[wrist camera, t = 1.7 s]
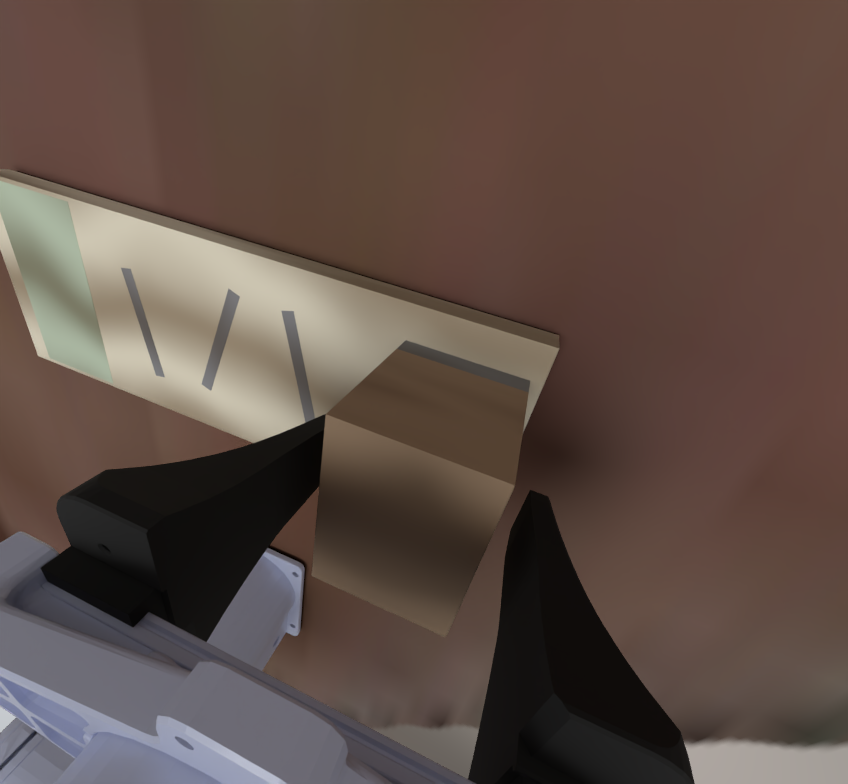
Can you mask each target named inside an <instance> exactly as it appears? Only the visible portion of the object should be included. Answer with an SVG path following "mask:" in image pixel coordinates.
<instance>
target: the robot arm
mask: <svg viewBox="0 0 848 784" xmlns="http://www.w3.org/2000/svg"><path fill="white" fill-rule="evenodd" d="M325 417H326V414H324V415H322V416H319V417H317V418H315V419H313V420H310V421H308V422H306V423H303V424H301V425H299V426H297V427H294V428H292V429H289V430H287V431H285V432H282V433H280V434H277V435H275V436H272V437H269V438H266V439H264V440H261V441H258V442H256V443H253V444H250V445H247V446H244V447H241V448H237V449H234V450H230V451H227V452H223V453H219V454H215V455H210V456H206V457H201V458H196V459H192V460H187V461H181V462H175V463H169V464H161V465H154V466H146V467H135V468H123V469H111V470H105V471H103V472H101V473H100V474H98V475H96V476H95V477H93V478H91V479H90V480H88V481H86V482H85V483H83V484H81V485H80V486H78V487H76V488H75V489H73V490H71V491H70V492H68V493H66V494H65V495H63V496H61V497H60V499H59V500H58V502H57V513H58V517H59V519H60V522H61V524H62V526H63V528H64V531H65V533H66V535H67V538H68V540H69V542H70V544H71V546H70V547H69V548H68V549H66V550H65V551H63V552H62V553H61V554H59V553H58V552H57V551H56V550H55V549H54V548H53V547H51V546H50V545H48V544H46V543H44V542H42V541H40V540H38V539H36V538H34V537H32V536H30V535H29V534H27V533H25V532H17V533H16V534H14V535H12V536H11V537H9V538H8V539H6V540H4V541H3V542H1V543H0V706H1V707H2V708H4V709H5V710H6V711H8V712H9V713H11V714H12V715H14V716H15V717H16V718H15V719H14V720H13V721H12V722H11V723H10V724H9V725H8V726H7V727H6V728H5V729H4V730H3V731H2V732H1V733H0V784H694V779H693V776H692V770H691V766H690V762H689V758H688V754H687V751H686V748H685V745H684V741H683V738H682V735H681V732H680V730H679V729H678V728H677V727H676V725H675V724H674V723H673V722H672V720H671V719H670V718H669V717H668V715H667V714H666V713H665V711H664V710H663V709H662V708H661V706H660V705H659V704H658V703H657V701H656V700H655V699H654V698H653V696H652V695H651V694H650V693H649V691H648V690H647V689H646V687H645V686H644V685H643V683H642V682H641V680H640V679H639V678H638V676H637V675H636V673H635V672H634V671H633V669H632V668H631V667H630V665H629V664H628V662H627V661H626V659H625V658H624V656H623V655H622V653H621V652H620V650H619V649H618V647H617V646H616V644H615V643H614V641H613V639H612V638H611V636H610V635H609V633H608V632H607V630H606V628H605V627H604V625H603V624H602V622H601V620H600V618H599V617H598V615H597V613H596V612H595V610H594V608H593V606H592V604H591V602H590V600H589V598H588V597H587V595H586V593H585V591H584V589H583V586H582V584H581V582H580V580H579V578H578V576H577V574H576V571H575V569H574V567H573V565H572V562H571V560H570V557H569V555H568V552H567V550H566V547H565V545H564V542H563V539H562V537H561V534H560V531H559V528H558V525H557V522H556V519H555V516H554V513H553V510H552V506H551V503H550V500H549V498H548V496H545V495H542V494H540V493H537V492H534V491H532V490H530V491H529V493H528V496H527V498H526V500H525V502H524V504H523V506H522V508H521V510H520V512H519V514H518V516H517V518H516V520H515V522H514V524H513V526H512V528H511V531H510V536H509V541H508V545H507V550H506V555H505V564H504V575H503V586H502V598H501V610H500V621H499V629H498V636H497V642H496V647H495V653H494V658H493V663H492V669H491V674H490V679H489V684H488V689H487V694H486V699H485V704H484V709H483V714H482V718H481V723H480V728H479V733H478V737H477V742H476V746H475V751H474V755H473V760H472V764H471V769H470V773H469V778H468V779H466V778H464V777H462V776H460V775H459V774H457V773H455V772H453V771H451V770H449V769H447V768H445V767H443V766H441V765H440V764H438V763H435V762H434V761H432V760H430V759H428V758H426V757H424V756H422V755H420V754H419V753H416V752H415V751H413V750H411V749H409V748H407V747H405V746H403V745H401V744H400V743H398V742H395V741H394V740H392V739H390V738H388V737H386V736H384V735H382V734H380V733H379V732H377V731H375V730H373V729H371V728H369V727H367V726H365V725H363V724H361V723H360V722H358V721H356V720H354V719H352V718H350V717H348V716H346V715H344V714H342V713H340V712H339V711H337V710H335V709H333V708H331V707H329V706H327V705H325V704H323V703H321V702H319V701H318V700H316V699H314V698H312V697H310V696H308V695H306V694H304V693H302V692H300V691H299V690H297V689H295V688H293V687H291V686H289V685H287V684H285V683H283V682H281V681H279V680H278V679H276V678H274V677H272V676H270V675H268V674H266V673H264V672H262V670H263V668H264V667H265V665H266V664H267V662H268V660H269V659H270V657H271V656H272V654H273V652H274V651H275V649H276V648H277V646H278V644H279V643H280V641H281V640H282V638H283V637H284V635H285V633H286V632H287V633H289V634H291V635H293V636H297V635H298V634H299V632H300V627H301V613H302V599H303V585H304V571H305V569H304V566H303V564H301V563H300V562H298V561H296V560H294V559H291V558H289V557H287V556H285V555H283V554H280V553H278V552H276V551H274V550H272V549H269V548H268V547H269V545H270V544H271V542H272V541H273V540H274V538H275V537H276V535H277V534H278V533H279V532H280V530H281V529H282V528H283V527H284V525H285V524H286V523H287V522H288V521H289V520H290V519H291V517H292V516H293V515H294V514H295V513H296V512H297V511H298V509H299V508H300V507H301V506H302V505H303V504H304V503H305V501H306V500H307V499H308V498H309V497H310V496H311V495H312V493H313V492H314V491H315V490H316V489H317V488H318V486H319V485H320V474H321V462H322V451H323V439H324V428H325Z"/></svg>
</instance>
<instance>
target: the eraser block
mask: <svg viewBox="0 0 848 784" xmlns="http://www.w3.org/2000/svg"><path fill="white" fill-rule="evenodd" d="M529 387H530V380H526V379H523V378H520V377H517V376H514V375H511V374H508V373H505V372H502V371H499V370H496V369H493V368H490V367H487V366H484V365H481V364H477V363H474V362H471V361H468V360H465V359H462V358H459V357H456V356H453V355H450V354H447V353H444V352H441V351H438V350H435V349H431V348H428V347H425V346H422V345H419V344H416V343H413V342H410V341H407V340H405V341H404V342H403V343H402V344H401V345H400V346H399V347H398V348H397V349H396V350H395V351H394V352H393V353H391V354H390V355H389V356H388V357H387V358H386V359H385V360H384V361H383V362H382V363H381V364H380V365H378V366H377V367H376V368H375V369H374V370H373V371H372V372H371V373H370V374H369V375H368V376H367V377H365V378H364V379H363V380H362V381H361V382H360V383H359V384H358V385H357V386H356V387H355V388H354V389H353V390H351V391H350V392H349V393H348V394H347V395H346V396H345V397H344V398H343V399H342V400H341V401H340V402H338V403H337V404H336V405H335V406H334V407H333V408H332V409H331V410H330V411H329V412H328V413H327V414H326V417H325V428H324V439H323V451H322V462H321V474H320V485H319V496H318V508H317V519H316V530H315V542H314V553H313V565H312V576H313V577H315V578H317V579H319V580H321V581H324V582H326V583H328V584H330V585H332V586H335V587H337V588H339V589H341V590H343V591H345V592H348V593H350V594H352V595H354V596H356V597H358V598H361V599H363V600H365V601H367V602H369V603H371V604H374V605H376V606H378V607H380V608H382V609H385V610H387V611H389V612H391V613H393V614H395V615H398V616H400V617H402V618H404V619H406V620H408V621H411V622H413V623H415V624H417V625H419V626H421V627H424V628H426V629H428V630H430V631H432V632H435V633H437V634H439V635H441V636H443V637H445V638H446V636H447V634H448V631H449V629H450V627H451V625H452V623H453V620H454V618H455V616H456V614H457V612H458V609H459V607H460V605H461V603H462V601H463V598H464V596H465V594H466V592H467V590H468V588H469V585H470V583H471V581H472V579H473V577H474V574H475V572H476V570H477V568H478V566H479V563H480V561H481V559H482V557H483V555H484V553H485V550H486V548H487V546H488V544H489V542H490V539H491V537H492V535H493V533H494V531H495V528H496V526H497V524H498V522H499V520H500V518H501V515H502V513H503V511H504V509H505V507H506V504H507V502H508V500H509V498H510V496H511V493H512V491H513V489H514V487H515V483H516V476H517V469H518V462H519V455H520V449H521V442H522V435H523V428H524V421H525V414H526V408H527V401H528V394H529Z"/></svg>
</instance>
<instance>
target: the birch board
mask: <svg viewBox="0 0 848 784" xmlns="http://www.w3.org/2000/svg"><path fill="white" fill-rule="evenodd" d="M0 250H1V252H2V255H3V258H4V261H5V264H6V266H7V269H8V272H9V275H10V278H11V281H12V283H13V286H14V289H15V292H16V295H17V297H18V300H19V303H20V306H21V309H22V311H23V314H24V317H25V320H26V323H27V326H28V328H29V331H30V334H31V337H32V340H33V342H34V345H35V348H36V351H37V354H38V356H40V357H42V358H45V359H47V360H50V361H52V362H55V363H57V364H60V365H62V366H65V367H67V368H70V369H72V370H75V371H77V372H79V373H82V374H84V375H87V376H89V377H92V378H94V379H97V380H99V381H102V382H104V383H107V384H109V385H112V386H114V387H116V388H119V389H121V390H124V391H126V392H129V393H131V394H134V395H136V396H139V397H141V398H144V399H146V400H149V401H151V402H154V403H156V404H158V405H161V406H163V407H166V408H168V409H171V410H173V411H176V412H178V413H181V414H183V415H186V416H188V417H191V418H193V419H195V420H198V421H200V422H203V423H205V424H208V425H210V426H213V427H215V428H218V429H220V430H223V431H225V432H228V433H230V434H233V435H235V436H237V437H240V438H242V439H245V440H247V441H250V442H252V443H256V442H258V441H261V440H264V439H266V438H269V437H272V436H275V435H277V434H280V433H282V432H285V431H287V430H289V429H292V428H294V427H297V426H299V425H301V424H303V423H306V422H308V421H310V420H313V419H315V418H317V417H319V416H322V415H324V414H327V413H328V412H329V411H330V410H331V409H332V408H333V407H334V406H335V405H336V404H337V403H338V402H340V401H341V400H342V399H343V398H344V397H345V396H346V395H347V394H348V393H349V392H350V391H351V390H353V389H354V388H355V387H356V386H357V385H358V384H359V383H360V382H361V381H362V380H363V379H364V378H365V377H367V376H368V375H369V374H370V373H371V372H372V371H373V370H374V369H375V368H376V367H377V366H378V365H380V364H381V363H382V362H383V361H384V360H385V359H386V358H387V357H388V356H389V355H390V354H391V353H393V352H394V351H395V350H396V349H397V348H398V347H399V346H400V345H401V344H402V343H403V342H404V341H405V340H407V341H410V342H413V343H416V344H419V345H422V346H425V347H428V348H431V349H435V350H438V351H441V352H444V353H447V354H450V355H453V356H456V357H459V358H462V359H465V360H468V361H471V362H474V363H477V364H481V365H484V366H487V367H490V368H493V369H496V370H499V371H502V372H505V373H508V374H511V375H514V376H517V377H520V378H523V379H526V380H530V387H529V394H528V401H527V408H526V414H525V421H524V428H523V432H524V430H525V427H526V425H527V423H528V420H529V418H530V416H531V413H532V411H533V409H534V406H535V404H536V402H537V400H538V397H539V395H540V393H541V390H542V388H543V386H544V383H545V381H546V379H547V376H548V374H549V372H550V369H551V367H552V365H553V362H554V360H555V358H556V355H557V353H558V351H559V335H556V334H553V333H550V332H546V331H543V330H540V329H536V328H533V327H530V326H526V325H523V324H520V323H517V322H513V321H510V320H507V319H503V318H500V317H497V316H493V315H490V314H487V313H483V312H480V311H477V310H474V309H470V308H467V307H464V306H460V305H457V304H454V303H450V302H447V301H444V300H440V299H437V298H434V297H430V296H427V295H424V294H421V293H417V292H414V291H411V290H407V289H404V288H401V287H397V286H394V285H391V284H387V283H384V282H381V281H378V280H374V279H371V278H368V277H364V276H361V275H358V274H354V273H351V272H348V271H344V270H341V269H338V268H334V267H331V266H328V265H325V264H321V263H318V262H315V261H311V260H308V259H305V258H301V257H298V256H295V255H291V254H288V253H285V252H281V251H278V250H275V249H272V248H268V247H265V246H262V245H258V244H255V243H252V242H248V241H245V240H242V239H238V238H235V237H232V236H229V235H225V234H222V233H219V232H215V231H212V230H209V229H205V228H202V227H199V226H195V225H192V224H189V223H185V222H182V221H179V220H176V219H172V218H169V217H166V216H162V215H159V214H156V213H152V212H149V211H146V210H142V209H139V208H136V207H132V206H129V205H126V204H123V203H119V202H116V201H113V200H109V199H106V198H103V197H99V196H96V195H93V194H89V193H86V192H83V191H80V190H76V189H73V188H70V187H66V186H63V185H60V184H56V183H53V182H50V181H46V180H43V179H40V178H36V177H33V176H30V175H27V174H23V173H20V172H17V171H13V170H7V169H0Z"/></svg>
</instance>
